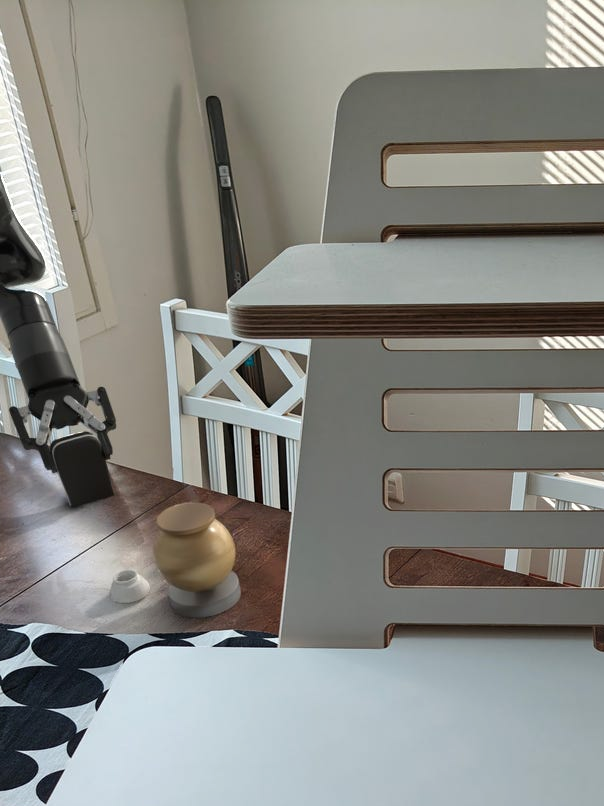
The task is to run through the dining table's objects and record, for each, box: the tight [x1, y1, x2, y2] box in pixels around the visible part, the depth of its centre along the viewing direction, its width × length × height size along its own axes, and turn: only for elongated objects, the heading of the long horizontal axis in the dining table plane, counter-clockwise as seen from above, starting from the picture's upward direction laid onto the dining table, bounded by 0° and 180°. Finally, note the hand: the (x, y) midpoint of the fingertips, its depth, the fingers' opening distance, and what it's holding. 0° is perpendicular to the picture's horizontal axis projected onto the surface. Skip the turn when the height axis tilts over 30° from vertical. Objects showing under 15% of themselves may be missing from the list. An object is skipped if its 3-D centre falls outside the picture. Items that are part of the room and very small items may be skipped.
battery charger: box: [49, 430, 116, 509], centre depth 146 cm, size 7×4×11 cm, turn 124°
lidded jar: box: [152, 501, 242, 619], centre depth 124 cm, size 10×10×12 cm
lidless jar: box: [109, 569, 151, 604], centre depth 128 cm, size 5×3×5 cm
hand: (81, 464), depth 143 cm, fingers closed on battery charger, 7 cm apart
